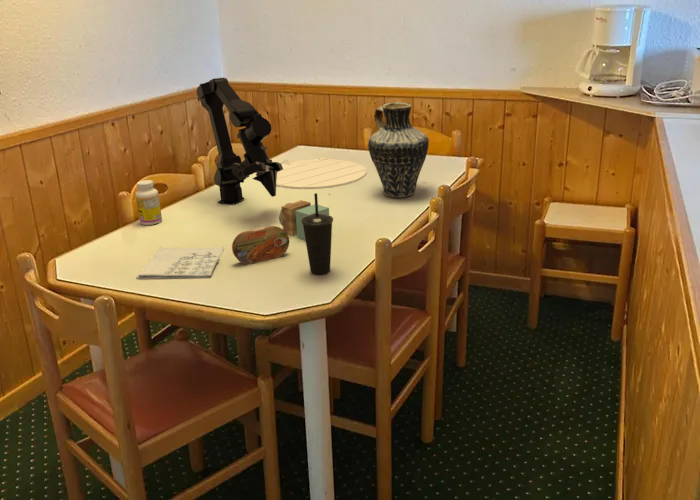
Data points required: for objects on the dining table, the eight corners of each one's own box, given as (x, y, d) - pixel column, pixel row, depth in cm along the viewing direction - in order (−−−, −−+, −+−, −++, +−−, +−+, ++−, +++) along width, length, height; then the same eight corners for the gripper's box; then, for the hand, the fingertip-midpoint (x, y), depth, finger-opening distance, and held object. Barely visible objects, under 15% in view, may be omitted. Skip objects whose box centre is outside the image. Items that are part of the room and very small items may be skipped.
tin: (236, 267, 167) (232, 236, 164) (232, 263, 170) (228, 232, 167) (290, 255, 174) (288, 225, 170) (286, 251, 176) (284, 221, 173)
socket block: (297, 237, 185) (295, 210, 182) (316, 230, 190) (315, 204, 187) (310, 242, 182) (308, 214, 179) (330, 234, 187) (328, 207, 184)
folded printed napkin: (135, 281, 163) (133, 273, 162) (161, 250, 181) (159, 243, 180) (211, 280, 161) (210, 272, 161) (229, 249, 180) (228, 242, 179)
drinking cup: (304, 266, 166) (299, 190, 159) (334, 264, 167) (331, 188, 159) (305, 278, 159) (299, 199, 152) (336, 276, 160) (332, 197, 152)
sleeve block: (283, 233, 189) (281, 206, 186) (303, 226, 194) (301, 200, 191) (292, 236, 187) (290, 209, 184) (312, 228, 192) (310, 202, 189)
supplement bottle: (139, 220, 204) (132, 180, 199) (161, 217, 206) (155, 177, 201) (140, 227, 198) (134, 186, 193) (163, 224, 200) (157, 183, 195)
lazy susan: (240, 176, 250) (239, 167, 249) (319, 156, 274) (319, 148, 273) (306, 197, 222) (306, 187, 221) (388, 173, 246) (388, 164, 245)
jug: (440, 193, 219) (441, 102, 208) (401, 207, 207) (400, 111, 196) (393, 182, 233) (393, 96, 222) (355, 195, 221) (352, 105, 210)
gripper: (242, 158, 205) (261, 204, 206) (217, 157, 187) (238, 208, 188) (273, 144, 202) (292, 191, 203) (251, 141, 184) (272, 193, 185)
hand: (273, 196), depth 195 cm, fingers closed
